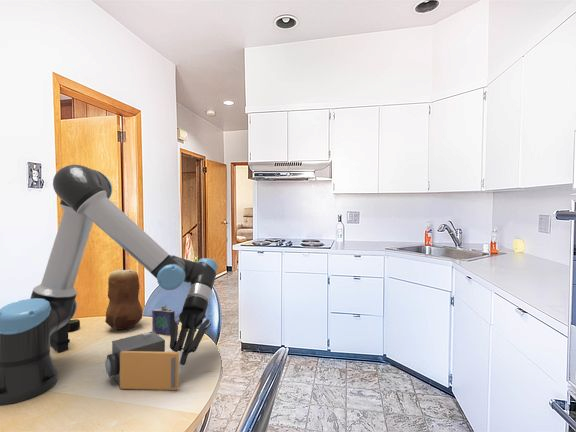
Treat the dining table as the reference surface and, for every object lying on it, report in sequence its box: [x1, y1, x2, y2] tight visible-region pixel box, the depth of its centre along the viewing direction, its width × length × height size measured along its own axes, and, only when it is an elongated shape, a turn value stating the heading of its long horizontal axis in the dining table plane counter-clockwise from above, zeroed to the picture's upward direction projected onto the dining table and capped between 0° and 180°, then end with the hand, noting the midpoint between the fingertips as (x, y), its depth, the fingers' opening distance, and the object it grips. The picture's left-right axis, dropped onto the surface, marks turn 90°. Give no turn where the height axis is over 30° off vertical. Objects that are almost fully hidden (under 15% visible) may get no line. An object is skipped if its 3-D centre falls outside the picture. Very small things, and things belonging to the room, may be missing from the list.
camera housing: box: [104, 330, 166, 385], centre depth 93 cm, size 14×10×11 cm
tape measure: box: [68, 318, 81, 332], centre depth 128 cm, size 7×7×4 cm
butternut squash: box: [104, 269, 143, 330], centre depth 131 cm, size 14×13×25 cm
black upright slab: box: [50, 323, 71, 353], centre depth 112 cm, size 4×13×15 cm, turn 50°
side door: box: [119, 351, 180, 391], centre depth 85 cm, size 16×2×10 cm, turn 89°
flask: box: [151, 304, 176, 337], centre depth 125 cm, size 10×3×12 cm, turn 76°
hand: (174, 376), depth 87 cm, fingers closed
